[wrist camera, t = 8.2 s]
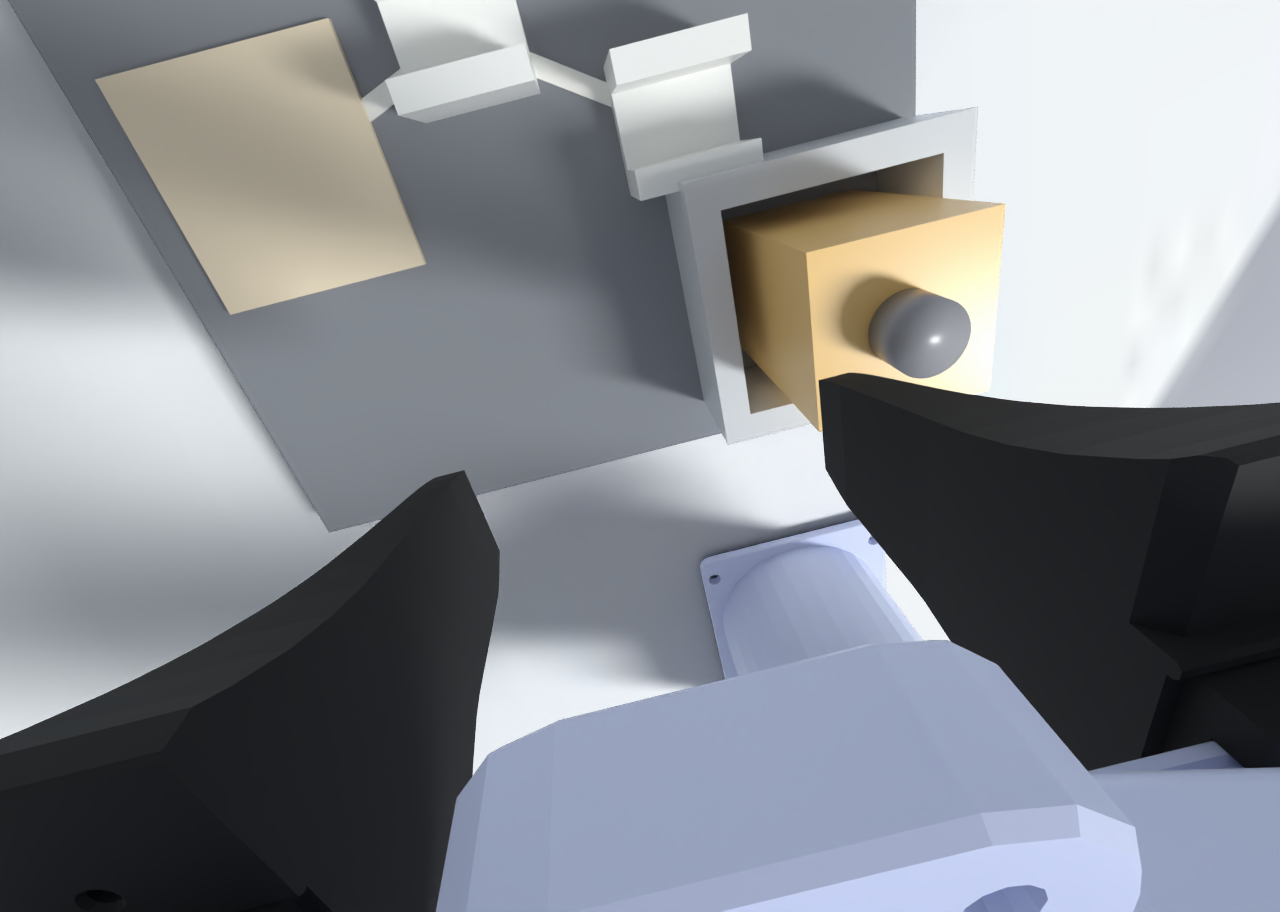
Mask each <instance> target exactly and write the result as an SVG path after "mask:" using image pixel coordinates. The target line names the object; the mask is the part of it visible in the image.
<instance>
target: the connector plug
mask: <svg viewBox="0 0 1280 912" xmlns="http://www.w3.org/2000/svg"><path fill="white" fill-rule="evenodd" d="M1004 216H1005V204H1002V203H991V202H980V201H970V200H959V199H948V198H937V197H926V196H916V195H905V194H894V193H883V192H873V191H862V190H851V189H850V190H846V191H842V192H838V193H834V194H830V195H826V196H822V197H818V198H814V199H810V200H805V201H801V202H797V203H793V204H789V205H785V206H781V207H777V208H773V209H769V210H765V211H761V212H757V213H753V214H749V215H745V216H740V217H736V218H732V219H728V220H724V221H723V227H724V234H725V241H726V249H727V256H728V263H729V271H730V278H731V285H732V291H733V298H734V305H735V312H736V319H737V325H738V332H739V339H740V346H741V347H742V348H743V349H744V351H745V352H746V353H747V354H748V355H749V356H750V357H751V358H752V359H753V360H754V361H755V363H756V364H757V365H758V366H759V367H760V368H761V369H762V370H763V371H764V372H765V373H766V375H767V376H768V377H769V378H770V379H771V380H772V381H773V382H774V383H775V384H776V385H777V387H778V388H779V389H780V390H781V391H782V392H783V393H784V394H785V395H786V396H787V397H788V398H789V400H790V401H791V402H792V403H793V404H794V405H795V406H796V407H797V408H798V409H799V410H800V412H801V413H802V414H803V415H804V416H805V417H806V418H807V419H808V420H809V421H810V422H811V424H812V425H813V426H814V427H815V428H816V429H817V430H818V431H819V432H821V431H823V430H822V418H821V406H820V393H819V381H818V380H821V379H825V378H829V377H833V376H837V375H841V374H845V373H863V374H869V375H875V376H881V377H886V378H890V379H895V380H900V381H905V382H909V383H914V384H919V385H924V386H929V387H933V388H939V389H944V390H949V391H954V392H960V393H965V394H972V395H974V394H978V393H982V392H986V391H990V383H991V371H992V359H993V347H994V335H995V323H996V311H997V299H998V287H999V275H1000V263H1001V251H1002V239H1003V227H1004Z"/></svg>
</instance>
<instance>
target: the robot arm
mask: <svg viewBox="0 0 1280 912" xmlns="http://www.w3.org/2000/svg"><path fill="white" fill-rule="evenodd" d="M818 381H819V393H820V406H821V418H822V430H823V442H824V455H825V467H826V470H827V472H828V474H829V476H830V477H831V479H832V481H833V483H834V484H835V486H836V488H837V490H838V491H839V493H840V495H841V496H842V498H843V499H844V501H845V503H846V504H847V506H848V507H849V508H850V510H851V511H852V512H853V513H854V515H855V516H856V517H857V518H858V520H854V521H850V522H846V523H842V524H838V525H834V526H830V527H826V528H822V529H818V530H814V531H810V532H806V533H802V534H798V535H794V536H790V537H786V538H782V539H778V540H774V541H770V542H766V543H762V544H758V545H754V546H750V547H746V548H742V549H738V550H734V551H730V552H726V553H722V554H718V555H714V556H710V557H707V558H705V559H704V560H703V561H702V562H701V564H700V571H701V576H702V580H703V584H704V589H705V593H706V598H707V602H708V606H709V611H710V615H711V620H712V624H713V629H714V633H715V637H716V642H717V646H718V651H719V655H720V659H721V664H722V668H723V673H724V677H725V679H724V680H720V681H716V682H712V683H708V684H704V685H700V686H696V687H692V688H688V689H684V690H680V691H676V692H672V693H668V694H664V695H659V696H655V697H651V698H647V699H643V700H639V701H635V702H631V703H627V704H623V705H619V706H615V707H611V708H607V709H603V710H599V711H595V712H591V713H587V714H583V715H579V716H575V717H571V718H567V719H563V720H559V721H557V722H554V723H552V724H550V725H548V726H546V727H544V728H541V729H539V730H537V731H535V732H533V733H531V734H528V735H526V736H524V737H522V738H520V739H518V740H515V741H513V742H511V743H509V744H507V745H505V746H502V747H501V748H499V749H497V750H495V751H493V752H492V753H490V754H488V756H487V757H486V758H485V760H484V761H483V763H482V764H481V765H480V767H479V768H478V769H477V771H476V772H475V774H474V775H473V776H472V773H473V757H474V743H475V730H476V716H477V708H478V701H479V694H480V688H481V683H482V678H483V673H484V667H485V662H486V657H487V652H488V647H489V641H490V636H491V631H492V626H493V620H494V615H495V609H496V604H497V598H498V589H499V549H498V546H497V544H496V542H495V539H494V537H493V535H492V533H491V530H490V528H489V526H488V523H487V521H486V519H485V516H484V514H483V512H482V510H481V507H480V505H479V503H478V500H477V498H476V496H475V493H474V491H473V489H472V487H471V484H470V482H469V480H468V477H467V475H466V473H465V470H463V471H459V472H455V473H451V474H447V475H443V476H439V477H435V478H433V479H432V480H430V481H428V482H427V483H425V484H424V485H423V486H421V487H420V488H419V489H417V490H416V491H415V492H414V493H413V494H411V495H410V496H409V497H408V498H407V499H405V500H404V501H403V502H402V503H401V504H400V505H398V506H397V507H396V508H395V509H394V510H393V511H391V512H390V513H389V514H388V515H387V516H386V517H384V518H383V519H382V520H381V521H380V522H379V523H377V524H376V525H375V526H374V527H373V528H372V529H370V530H369V531H368V532H367V533H366V534H365V535H363V536H362V537H361V538H360V539H358V540H357V541H356V542H355V543H353V544H352V545H351V546H350V547H348V548H347V549H346V550H345V551H343V552H342V553H341V554H340V555H338V556H337V557H336V558H335V559H333V560H332V561H331V562H330V563H328V564H327V565H326V566H325V567H323V568H322V569H321V570H319V571H318V572H317V573H315V574H314V575H312V576H311V577H310V578H308V579H307V580H305V581H304V582H303V583H301V584H300V585H298V586H297V587H295V588H294V589H292V590H291V591H289V592H288V593H286V594H285V595H284V596H282V597H281V598H279V599H278V600H276V601H275V602H273V603H272V604H270V605H268V606H267V607H265V608H264V609H262V610H260V611H259V612H257V613H255V614H254V615H252V616H250V617H249V618H247V619H245V620H243V621H242V622H240V623H238V624H237V625H235V626H233V627H232V628H230V629H228V630H227V631H225V632H223V633H222V634H220V635H218V636H216V637H215V638H213V639H211V640H210V641H208V642H206V643H204V644H203V645H201V646H199V647H197V648H195V649H193V650H191V651H190V652H188V653H186V654H184V655H182V656H180V657H178V658H176V659H174V660H173V661H171V662H169V663H167V664H165V665H163V666H161V667H159V668H157V669H155V670H153V671H151V672H149V673H147V674H145V675H143V676H141V677H139V678H137V679H135V680H133V681H131V682H129V683H127V684H125V685H122V686H120V687H118V688H116V689H114V690H112V691H110V692H108V693H106V694H103V695H101V696H99V697H97V698H94V699H92V700H90V701H88V702H85V703H83V704H81V705H78V706H76V707H74V708H72V709H69V710H67V711H65V712H63V713H60V714H58V715H56V716H54V717H51V718H49V719H47V720H44V721H42V722H40V723H38V724H35V725H33V726H31V727H29V728H26V729H24V730H22V731H19V732H17V733H14V734H12V735H10V736H7V737H5V738H2V739H0V912H1280V403H1269V404H1256V405H1238V406H1213V407H1190V408H1189V407H1187V408H1119V407H1085V406H1066V405H1054V404H1043V403H1032V402H1021V401H1012V400H1004V399H997V398H991V397H984V396H978V395H972V394H965V393H960V392H954V391H949V390H944V389H939V388H933V387H929V386H924V385H919V384H914V383H909V382H905V381H900V380H895V379H890V378H886V377H881V376H875V375H869V374H863V373H845V374H841V375H837V376H833V377H829V378H825V379H821V380H818ZM871 536H872V537H873V538H872V539H869V538H870V537H871ZM886 554H887V555H888V556H889V557H890V558H891V560H892V561H893V562H894V563H895V564H896V566H897V567H898V568H899V569H900V570H901V572H902V573H903V574H904V575H905V577H906V578H907V579H908V580H909V581H910V583H911V584H912V585H913V586H914V588H915V589H916V590H917V592H918V593H919V594H920V596H921V597H922V598H923V600H924V601H925V602H926V604H927V605H928V607H929V608H930V610H931V612H932V613H933V615H934V616H935V618H936V619H937V621H938V622H939V624H940V625H941V627H942V628H943V630H944V632H945V633H946V635H947V636H948V638H949V639H950V641H951V642H950V641H948V640H928V641H923V639H922V638H921V636H920V635H919V634H918V632H917V631H916V630H915V628H914V627H913V626H912V624H911V623H910V622H909V620H908V619H907V617H906V616H905V615H904V613H903V612H902V611H901V609H900V608H899V607H898V605H897V604H896V602H895V601H894V600H893V598H892V597H891V596H890V594H889V593H888V592H887V590H886ZM713 575H718V576H717V577H716V578H714V579H710V577H711V576H713Z"/></svg>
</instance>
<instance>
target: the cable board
mask: <svg viewBox="0 0 1280 912" xmlns="http://www.w3.org/2000/svg"><path fill="white" fill-rule="evenodd" d="M8 1H9V3H10V4H11V6H12V8H13V9H14V11H15V13H16V14H17V16H18V18H19V19H20V21H21V23H22V24H23V26H24V28H25V29H26V31H27V33H28V34H29V36H30V38H31V39H32V41H33V43H34V44H35V46H36V48H37V49H38V51H39V52H40V54H41V56H42V57H43V59H44V61H45V62H46V64H47V66H48V67H49V69H50V71H51V72H52V74H53V76H54V77H55V79H56V81H57V82H58V84H59V86H60V87H61V89H62V91H63V92H64V94H65V96H66V97H67V99H68V101H69V102H70V104H71V105H72V107H73V109H74V110H75V112H76V114H77V115H78V117H79V119H80V120H81V122H82V124H83V125H84V127H85V129H86V130H87V132H88V134H89V135H90V137H91V139H92V140H93V142H94V144H95V145H96V147H97V149H98V150H99V152H100V154H101V155H102V157H103V158H104V160H105V162H106V163H107V165H108V167H109V168H110V170H111V172H112V173H113V175H114V177H115V178H116V180H117V182H118V183H119V185H120V187H121V188H122V190H123V192H124V193H125V195H126V197H127V198H128V200H129V202H130V203H131V205H132V207H133V208H134V210H135V211H136V213H137V215H138V216H139V218H140V220H141V221H142V223H143V225H144V226H145V228H146V230H147V231H148V233H149V235H150V236H151V238H152V240H153V241H154V243H155V245H156V246H157V248H158V250H159V251H160V253H161V255H162V256H163V258H164V260H165V261H166V263H167V265H168V266H169V268H170V269H171V271H172V273H173V274H174V276H175V278H176V279H177V281H178V283H179V284H180V286H181V288H182V289H183V291H184V293H185V294H186V296H187V298H188V299H189V301H190V303H191V304H192V306H193V308H194V309H195V311H196V313H197V314H198V316H199V318H200V319H201V321H202V322H203V324H204V326H205V327H206V329H207V331H208V332H209V334H210V336H211V337H212V339H213V341H214V342H215V344H216V346H217V347H218V349H219V351H220V352H221V354H222V356H223V357H224V359H225V361H226V362H227V364H228V366H229V367H230V369H231V371H232V372H233V374H234V375H235V377H236V379H237V380H238V382H239V384H240V385H241V387H242V389H243V390H244V392H245V394H246V395H247V397H248V399H249V400H250V402H251V404H252V405H253V407H254V409H255V410H256V412H257V414H258V415H259V417H260V419H261V420H262V422H263V424H264V425H265V427H266V428H267V430H268V432H269V433H270V435H271V437H272V438H273V440H274V442H275V443H276V445H277V447H278V448H279V450H280V452H281V453H282V455H283V457H284V458H285V460H286V462H287V463H288V465H289V467H290V468H291V470H292V472H293V473H294V475H295V477H296V478H297V480H298V482H299V483H300V485H301V486H302V488H303V490H304V491H305V493H306V495H307V496H308V498H309V500H310V501H311V503H312V505H313V506H314V508H315V510H316V511H317V513H318V515H319V516H320V518H321V520H322V521H323V523H324V525H325V526H326V528H327V530H328V531H329V532H333V531H337V530H341V529H345V528H348V527H352V526H356V525H360V524H364V523H368V522H372V521H376V520H380V519H383V518H384V517H386V516H387V515H388V514H389V513H390V512H391V511H393V510H394V509H395V508H396V507H397V506H398V505H400V504H401V503H402V502H403V501H404V500H405V499H407V498H408V497H409V496H410V495H411V494H413V493H414V492H415V491H416V490H417V489H419V488H420V487H421V486H423V485H424V484H425V483H427V482H428V481H430V480H432V479H433V478H435V477H439V476H443V475H447V474H451V473H455V472H459V471H463V470H465V473H466V475H467V477H468V480H469V482H470V484H471V487H472V489H473V491H474V493H475V495H479V494H483V493H487V492H491V491H495V490H499V489H503V488H506V487H510V486H514V485H518V484H522V483H526V482H530V481H534V480H538V479H542V478H546V477H550V476H554V475H558V474H562V473H566V472H570V471H574V470H578V469H582V468H586V467H589V466H593V465H597V464H601V463H605V462H609V461H613V460H617V459H621V458H625V457H629V456H633V455H637V454H641V453H645V452H649V451H653V450H657V449H661V448H665V447H668V446H672V445H676V444H680V443H684V442H688V441H692V440H696V439H700V438H704V437H708V436H712V435H716V434H720V433H722V435H723V437H724V438H725V440H726V442H727V444H728V445H729V444H733V443H737V442H741V441H745V440H749V439H753V438H757V437H761V436H765V435H769V434H773V433H776V432H780V431H784V430H788V429H792V428H796V427H800V426H804V425H808V424H811V422H810V421H809V420H808V419H807V418H806V417H805V416H804V415H803V414H802V413H801V412H800V410H799V409H798V408H797V407H796V406H795V405H794V404H793V403H792V402H791V401H790V400H789V398H788V397H787V396H786V395H785V394H784V393H783V392H782V391H781V390H780V389H779V388H778V387H777V385H776V384H775V383H774V382H773V381H772V380H771V379H770V378H769V377H768V376H767V375H766V373H765V372H764V371H763V370H762V369H761V368H760V367H759V366H758V365H757V364H756V363H755V361H754V360H753V359H752V358H751V357H750V356H749V355H748V354H747V353H746V352H745V351H744V349H743V348H742V347H741V346H740V339H739V332H738V325H737V319H736V312H735V305H734V298H733V291H732V285H731V278H730V271H729V263H728V256H727V249H726V241H725V234H724V227H723V221H724V220H728V219H732V218H736V217H740V216H745V215H749V214H753V213H757V212H761V211H765V210H769V209H773V208H777V207H781V206H785V205H789V204H793V203H797V202H801V201H805V200H810V199H814V198H818V197H822V196H826V195H830V194H834V193H838V192H842V191H846V190H850V189H851V190H862V191H873V192H883V193H894V194H905V195H916V196H926V197H937V198H948V199H959V200H970V201H973V196H974V176H975V155H976V135H977V115H978V107H974V108H967V109H960V110H953V111H946V112H938V113H931V114H924V115H917V116H915V92H916V0H8Z"/></svg>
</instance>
